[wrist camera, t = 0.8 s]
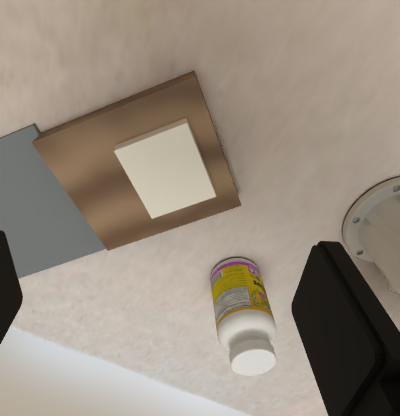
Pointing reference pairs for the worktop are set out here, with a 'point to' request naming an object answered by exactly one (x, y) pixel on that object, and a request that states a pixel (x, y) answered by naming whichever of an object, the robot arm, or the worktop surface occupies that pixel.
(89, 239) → the mat
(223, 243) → the worktop surface
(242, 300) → the supplement bottle
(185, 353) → the worktop surface
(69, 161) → the brown wooden flat block
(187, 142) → the tile
